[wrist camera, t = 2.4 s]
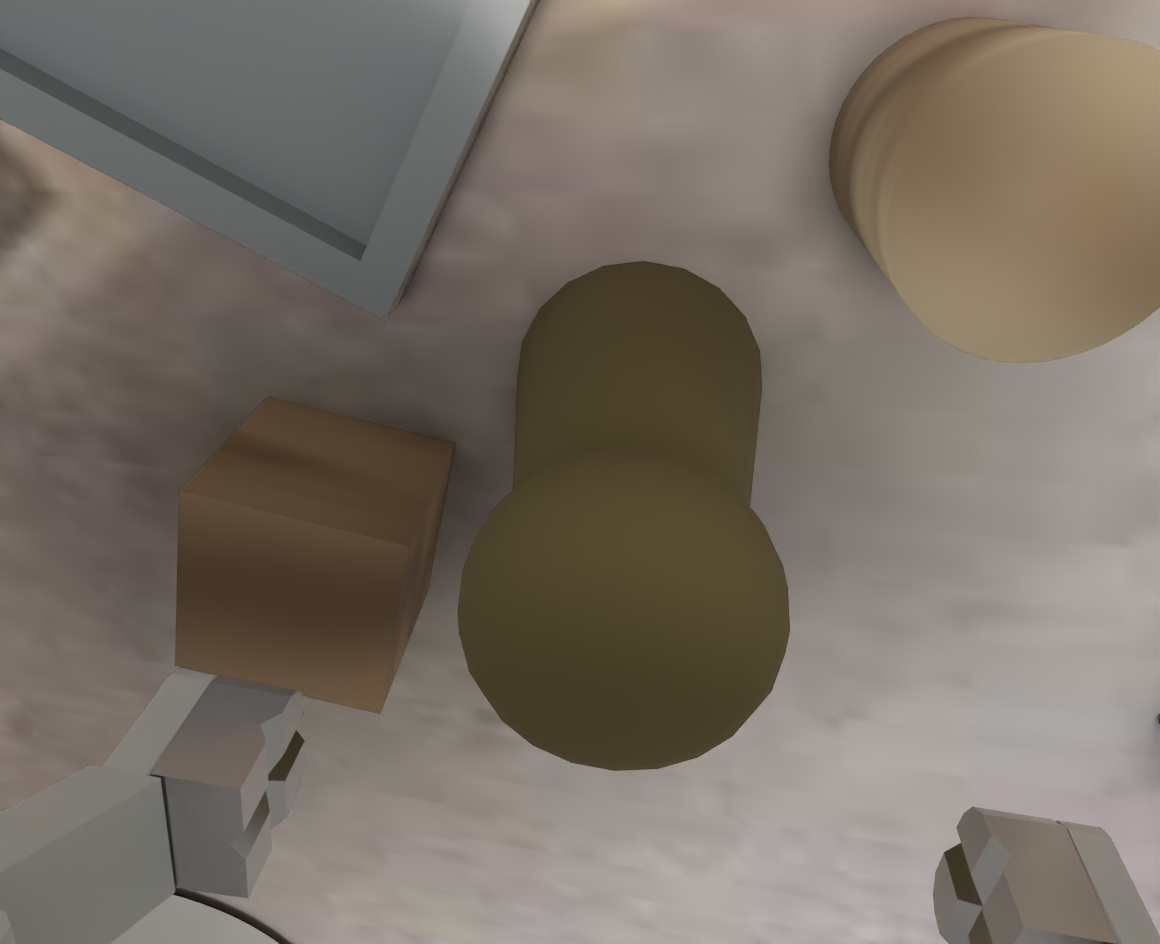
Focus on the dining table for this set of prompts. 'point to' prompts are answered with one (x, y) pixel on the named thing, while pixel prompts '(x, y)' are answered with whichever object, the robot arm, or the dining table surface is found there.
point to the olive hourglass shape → (629, 530)
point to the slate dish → (272, 116)
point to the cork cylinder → (1008, 183)
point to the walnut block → (309, 552)
